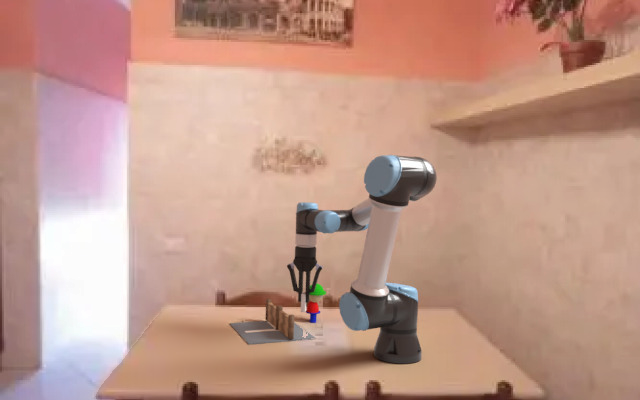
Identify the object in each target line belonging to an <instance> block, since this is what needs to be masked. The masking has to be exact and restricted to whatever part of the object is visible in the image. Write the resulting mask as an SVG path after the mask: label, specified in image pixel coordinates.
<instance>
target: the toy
mask: <svg viewBox="0 0 640 400" xmlns="http://www.w3.org/2000/svg"><path fill="white" fill-rule="evenodd" d="M311 287H312V284H310V289H311ZM324 295H327V291H325V290H324V287H323V285H321V284H320V283H317V284H316V288H315V291H314V292H313V293H310V295H309V302H308V303H307V305H306V311H305V313H306V314H309V323H311V324H316V323H317V315H319V314H321V311H320V309H319V304H318V303H319V302H321V300H322V299H323V296H324Z"/></svg>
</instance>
